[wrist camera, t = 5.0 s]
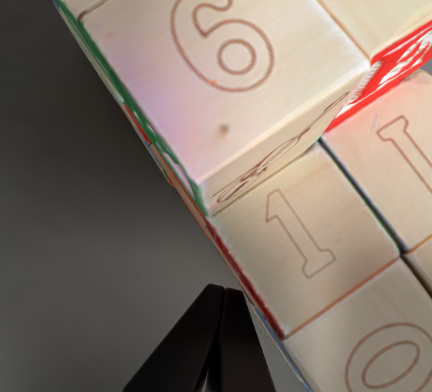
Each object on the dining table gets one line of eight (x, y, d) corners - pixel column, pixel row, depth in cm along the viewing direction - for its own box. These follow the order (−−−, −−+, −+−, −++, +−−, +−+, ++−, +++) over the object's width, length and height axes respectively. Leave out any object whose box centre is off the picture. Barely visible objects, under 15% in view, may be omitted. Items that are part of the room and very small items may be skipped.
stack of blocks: (448, 341, 16) (1157, 578, 4) (330, 429, 15) (728, 1025, 3) (179, -24, 19) (110, -507, 7) (73, 37, 19) (-192, -374, 7)
